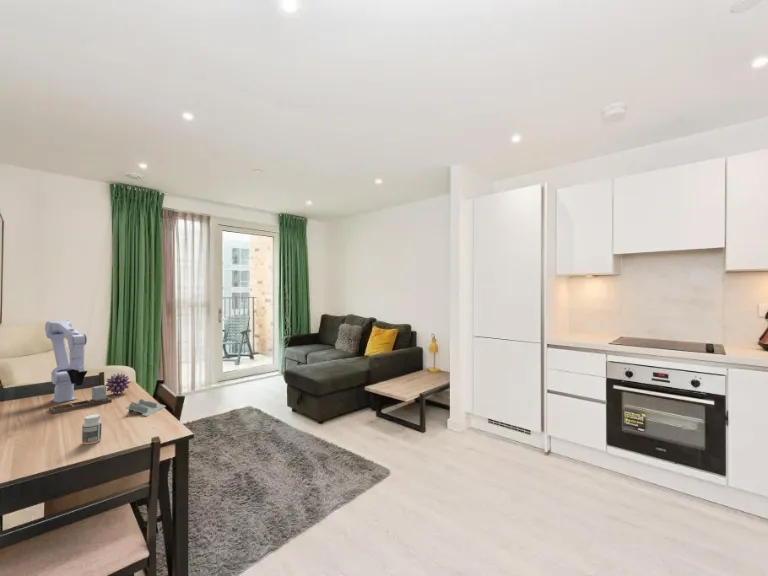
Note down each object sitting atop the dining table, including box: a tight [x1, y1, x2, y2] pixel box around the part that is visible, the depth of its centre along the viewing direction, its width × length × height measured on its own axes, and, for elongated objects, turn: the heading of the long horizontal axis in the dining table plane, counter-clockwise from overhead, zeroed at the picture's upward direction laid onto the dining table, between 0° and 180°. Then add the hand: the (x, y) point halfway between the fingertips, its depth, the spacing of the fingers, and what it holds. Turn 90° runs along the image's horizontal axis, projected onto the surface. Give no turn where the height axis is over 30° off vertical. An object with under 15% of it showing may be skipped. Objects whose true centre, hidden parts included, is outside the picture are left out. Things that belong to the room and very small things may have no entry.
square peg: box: [91, 384, 107, 402], centre depth 186 cm, size 5×5×8 cm
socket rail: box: [48, 396, 112, 415], centre depth 180 cm, size 8×23×2 cm, turn 146°
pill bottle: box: [81, 413, 103, 445], centre depth 137 cm, size 6×6×10 cm
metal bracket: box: [124, 398, 167, 417], centre depth 173 cm, size 14×6×15 cm
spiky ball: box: [104, 372, 132, 395], centre depth 202 cm, size 12×12×12 cm
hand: (76, 384), depth 183 cm, fingers open, 7 cm apart
